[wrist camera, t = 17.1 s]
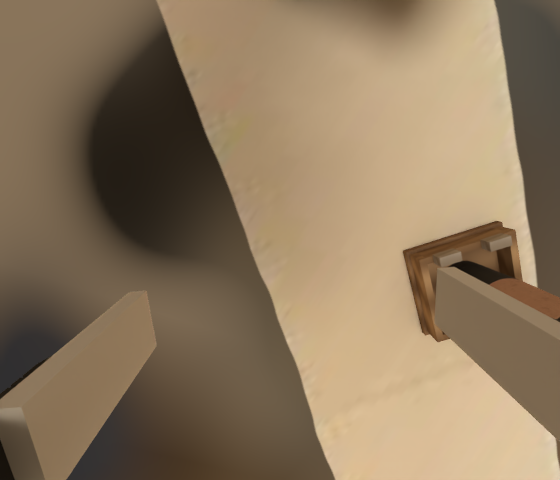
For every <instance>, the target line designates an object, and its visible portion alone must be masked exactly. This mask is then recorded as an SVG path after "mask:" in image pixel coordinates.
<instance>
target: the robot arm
mask: <svg viewBox="0 0 560 480" xmlns="http://www.w3.org/2000/svg"><path fill="white" fill-rule="evenodd" d="M434 324H435V325H436V326H438V327H439V328H440V329H441V330H442V331H443V332H444V333H445V334H446V335H447V336H448V337H449V338H450V339H451V340H452V341H453V342H455V343H456V344H457V345H458V346H459V347H460V348H461V349H462V350H463V351H464V352H465V353H466V354H467V355H468V356H469V357H470V358H471V359H473V360H474V361H475V362H476V363H477V364H478V365H479V366H480V367H481V368H482V369H483V370H484V371H485V372H486V373H487V374H488V375H489V376H491V377H492V378H493V379H494V380H495V381H496V382H497V383H498V384H499V385H500V386H501V387H502V388H503V389H504V390H505V391H506V392H508V393H509V394H510V395H511V396H512V397H513V398H514V399H515V400H516V401H517V402H518V403H519V404H520V405H521V406H522V407H523V408H524V409H526V410H527V411H528V412H529V413H530V414H531V415H532V416H533V417H534V418H535V419H536V420H537V421H538V422H539V423H540V424H541V425H542V426H544V427H545V428H546V429H547V430H548V431H549V432H550V433H551V434H552V435H553V436H554V437H555V438H556V439H557V440H558V441H559V442H560V320H557V319H554V318H551V317H549V316H547V315H545V314H543V313H541V312H539V311H537V310H535V309H534V308H532V307H530V306H528V305H526V304H524V303H522V302H520V301H518V300H516V299H514V298H513V297H511V296H509V295H507V294H505V293H503V292H501V291H499V290H497V289H495V288H494V287H492V286H490V285H488V284H486V283H484V282H482V281H480V280H478V279H476V278H475V277H473V276H471V275H469V274H467V273H465V272H463V271H461V270H459V269H457V268H455V267H446V268H437V283H436V302H435V322H434ZM156 346H157V344H156V338H155V334H154V328H153V323H152V318H151V312H150V307H149V303H148V297H147V292H146V291H136V292H129V293H128V294H126V295H125V296H124V297H123V298H121V299H120V300H119V301H118V302H117V303H115V304H114V305H113V306H112V307H111V308H109V309H108V310H107V311H106V312H105V313H104V314H102V315H101V316H100V317H99V318H97V319H96V320H95V321H94V322H93V323H91V324H90V325H89V326H88V327H87V328H85V329H84V330H83V331H82V332H81V333H79V334H78V335H77V336H76V337H75V338H74V339H72V340H71V341H70V342H68V343H67V344H66V345H65V346H64V347H63V348H61V349H60V350H59V351H58V352H56V353H55V354H54V355H52V356H51V357H49V358H47V359H45V360H43V361H42V362H40V363H38V364H37V365H35V366H34V367H33V368H32V369H31V370H29V371H28V372H27V373H26V374H24V375H23V378H19V379H18V380H17V381H16V382H14V383H13V384H12V385H11V387H10V388H7V389H6V390H5V391H3V392H2V393H1V394H0V480H66V479H67V478H68V476H69V475H70V473H71V472H72V470H73V469H74V467H75V466H76V464H77V463H78V461H79V460H80V458H81V457H82V455H83V454H84V452H85V451H86V449H87V448H88V446H89V445H90V443H91V442H92V440H93V439H94V437H95V436H96V435H97V433H98V432H99V430H100V429H101V427H102V426H103V424H104V423H105V421H106V420H107V418H108V417H109V415H110V414H111V412H112V411H113V409H114V408H115V406H116V405H117V403H118V402H119V400H120V399H121V397H122V396H123V394H124V393H125V392H126V390H127V389H128V387H129V386H130V384H131V383H132V381H133V380H134V378H135V377H136V375H137V374H138V372H139V371H140V369H141V368H142V366H143V365H144V363H145V362H146V361H147V359H148V357H149V356H150V355H151V353H152V351H153V350H154V349H155V347H156Z"/></svg>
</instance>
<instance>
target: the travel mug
mask: <svg viewBox="0 0 560 480" xmlns="http://www.w3.org/2000/svg"><path fill="white" fill-rule="evenodd" d="M449 267H455V268H457V269H459V270H461V271H463V272H465V273H467V274H469V275H471V276H473V277H475V278H476V279H478V280H480V281H482V282H484V283H486V284H488V285H490V286H492V287H494V288H495V289H497V290H499V291H501V292H503V293H505V294H507V295H509V296H511V297H513V298H514V299H516V300H518V301H520V302H522V303H524V304H526V305H528V306H530V307H532V308H534V309H535V310H537V311H539V312H541V313H543V314H545V315H547V316H549V317H551V318H554V319H557V320H560V298H559V297H557V296H554V295H552V294H550V293H548V292H545V291H543V290H541V289H539V288H536V287H534V286H532V285H530V284H527V283H525V282H523V281H521V280H518V279H516V278H513V277H511V276H508V275H505V274H503V273H500V272H498V271H495V270H493V269H490V268H488V267H485V266H482V265H480V264H477V263H474V262H471V261H460V262H457V263H454V264H452V265H450V266H449Z"/></svg>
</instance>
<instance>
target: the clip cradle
mask: <svg viewBox="0 0 560 480" xmlns="http://www.w3.org/2000/svg"><path fill="white" fill-rule="evenodd" d="M403 253H404V257H405V261H406V265H407V270H408V274H409V278H410V282H411V286H412V290H413V295H414V299H415V303H416V307H417V311H418V315H419V320H420V324H421V328H422V332H423V333H424V334H425V335H428V334H430V335H431V336H432V337H433V338H434V339H435V340H436V341H437V342H440V341H444V340H447V339H450V338H449V337H448V336H447V335H446V334H445V333H444V332H443V331H442V330H441V329H440V328H439V327H438V326H436V325H435V324H434V322H435V302H436V283H437V268H446V267H449V266H450V265H452V264H454V263H457V262H460V261H471V262H474V263H477V264H480V265H482V266H485V267H488V268H490V269H493V270H495V271H498V272H500V273H503V274H505V275H508V276H511V277H513V278H516V279H518V280H521V281H523V280H522V273H521V266H520V259H519V253H518V246H517V239H516V232H515V230H513V229H509V228H505V227H503V225H502V222H499V221H496V222H492V223H489V224H486V225H483V226H480V227H477V228H473V229H470V230H467V231H464V232H461V233H458V234H455V235H451V236H448V237H445V238H442V239H439V240H436V241H432V242H429V243H426V244H423V245H420V246H417V247H413V248H410V249H407V250H404V251H403Z"/></svg>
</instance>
